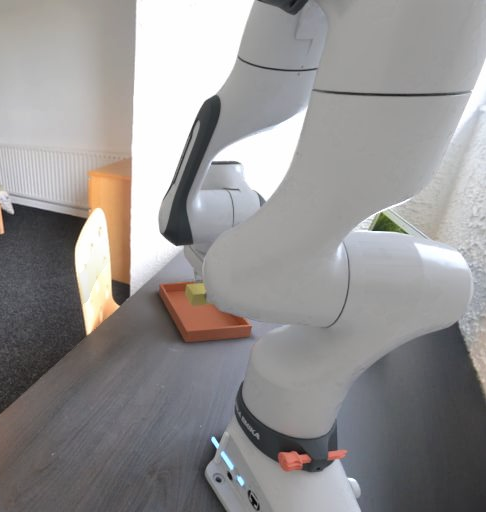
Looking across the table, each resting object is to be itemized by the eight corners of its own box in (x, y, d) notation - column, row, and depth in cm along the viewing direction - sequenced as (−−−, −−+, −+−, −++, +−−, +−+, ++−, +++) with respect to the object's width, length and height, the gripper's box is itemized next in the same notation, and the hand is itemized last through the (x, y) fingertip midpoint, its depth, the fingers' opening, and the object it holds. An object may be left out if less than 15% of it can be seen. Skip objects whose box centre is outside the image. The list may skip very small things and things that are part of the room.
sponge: (213, 292, 86) (215, 281, 85) (222, 303, 82) (224, 292, 81) (184, 295, 86) (186, 284, 84) (191, 306, 82) (193, 294, 80)
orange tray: (249, 336, 84) (252, 325, 83) (185, 342, 83) (186, 331, 81) (211, 289, 103) (213, 279, 102) (158, 293, 102) (159, 283, 100)
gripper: (251, 258, 68) (239, 319, 74) (207, 219, 86) (200, 271, 93) (218, 261, 68) (209, 321, 74) (180, 221, 86) (175, 272, 92)
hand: (203, 293), depth 83 cm, fingers closed on sponge, 4 cm apart
